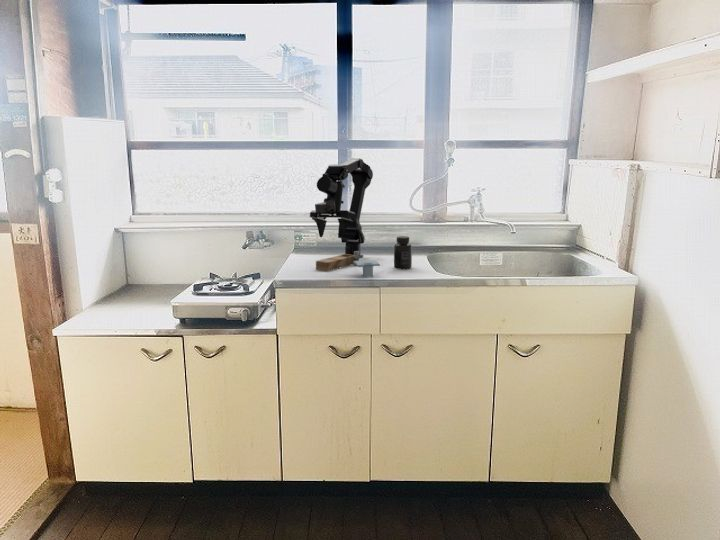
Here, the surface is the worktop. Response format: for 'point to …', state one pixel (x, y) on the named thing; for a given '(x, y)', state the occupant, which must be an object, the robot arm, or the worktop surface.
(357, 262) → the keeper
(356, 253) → the cylinder
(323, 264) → the link
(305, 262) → the worktop surface
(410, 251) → the supplement bottle
